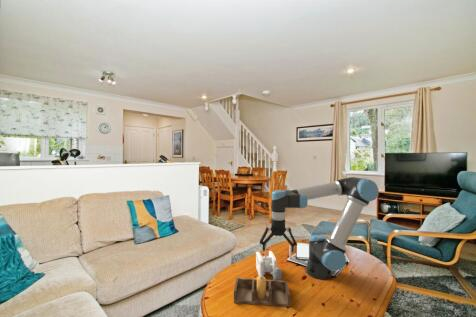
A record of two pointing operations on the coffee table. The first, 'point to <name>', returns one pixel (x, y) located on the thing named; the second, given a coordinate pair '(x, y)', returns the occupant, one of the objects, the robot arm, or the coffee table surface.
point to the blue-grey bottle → (277, 274)
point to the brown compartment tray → (274, 292)
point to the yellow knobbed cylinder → (261, 287)
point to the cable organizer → (265, 263)
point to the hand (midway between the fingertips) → (277, 257)
